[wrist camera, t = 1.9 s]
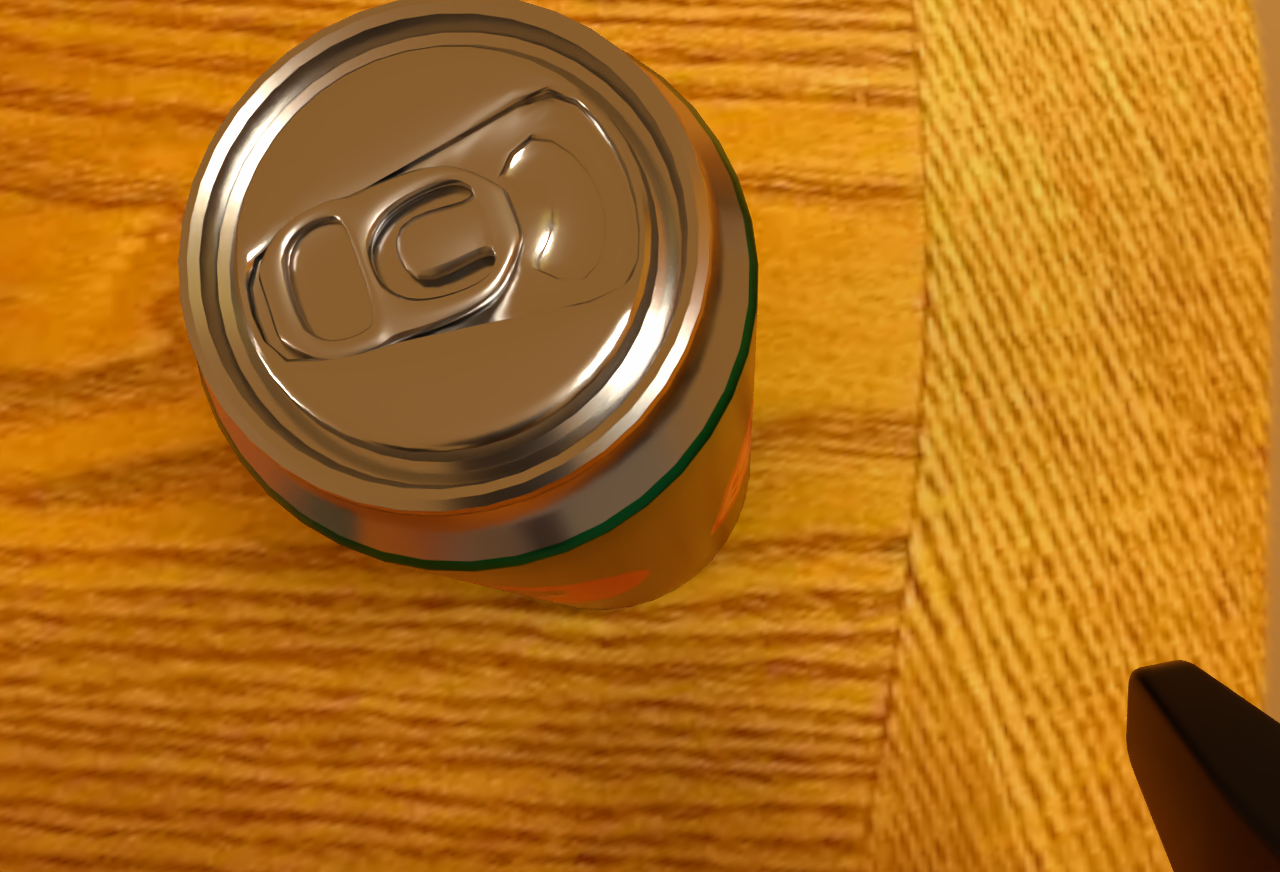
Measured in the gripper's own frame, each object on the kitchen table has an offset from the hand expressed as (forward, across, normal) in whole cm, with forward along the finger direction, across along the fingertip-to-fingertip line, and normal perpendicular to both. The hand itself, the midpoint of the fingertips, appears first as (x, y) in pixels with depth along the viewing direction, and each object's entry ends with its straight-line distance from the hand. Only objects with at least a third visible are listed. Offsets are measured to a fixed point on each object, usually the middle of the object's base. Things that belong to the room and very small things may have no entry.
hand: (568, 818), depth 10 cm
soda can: (+11, 0, +5) cm, 12 cm away
